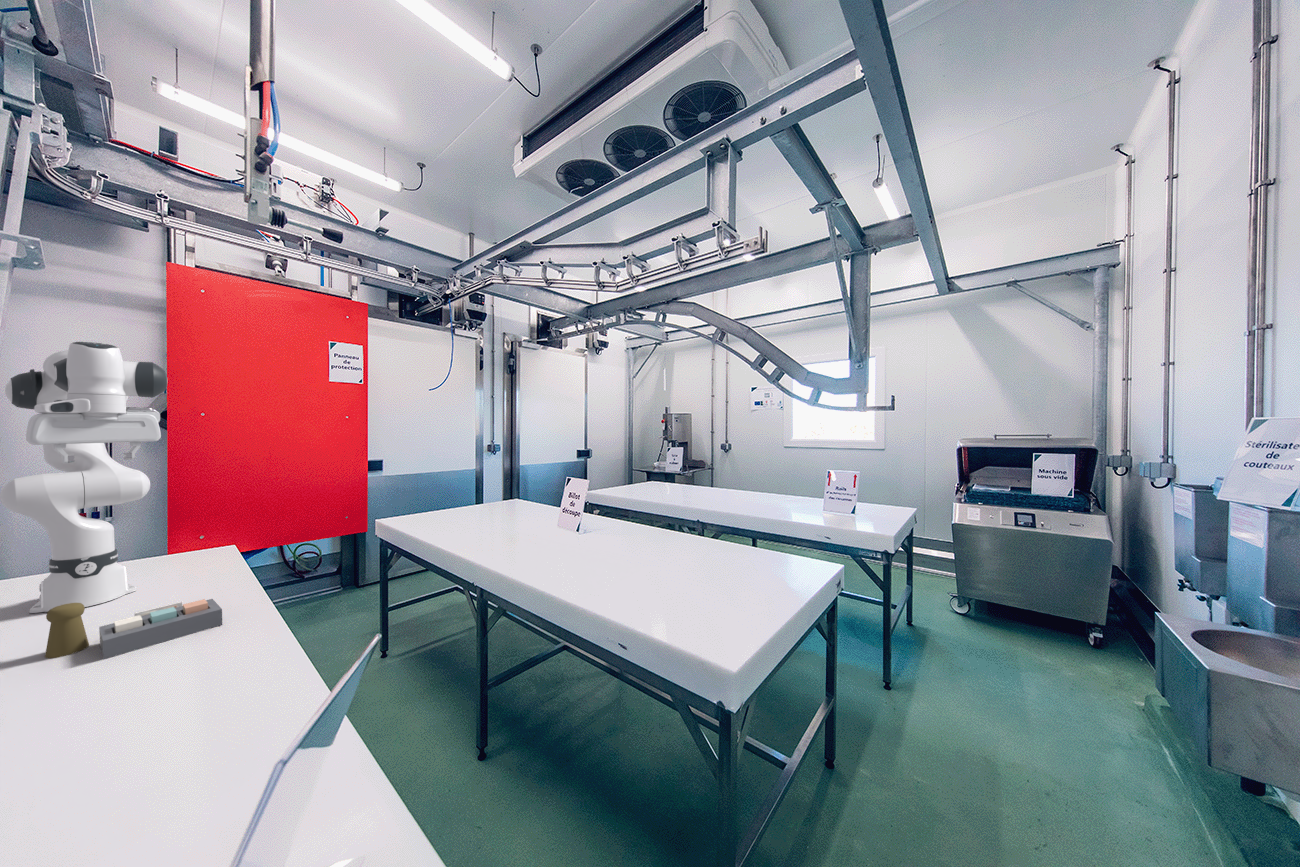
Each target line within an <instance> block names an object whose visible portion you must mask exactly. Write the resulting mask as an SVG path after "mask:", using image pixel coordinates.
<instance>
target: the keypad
mask: <svg viewBox="0 0 1300 867" xmlns="http://www.w3.org/2000/svg"><path fill="white" fill-rule="evenodd" d="M205 600H206V601H207V602H208V609H206V610H202V611H198V612H194V613H191V614H187V615H183V602H182V601H178V602H175V603H174V602H173V603H170V604H167V605H162V606H157V607H154V608H150V609H149V608H148V609H145V610H141V611H137V612H134V616H138V615H141V617H142V620H143V626H141V627H137V628H133V629H129V630H126V631H122V632H118V633H114V622H113V623H109V624H106V625H105V624H104V625H101V626H99V628H98V629H99V630H98V631H99V646H100V650H101V654H102V659H103V660H106V659H109V658H113V657H116V656H120V655H124V654H126V653H130V652H134V651H138V650H140V649H144V648H147V647H151V646H155V645H158V644H162V643H164V642H169V641H172V640H175V639H178V638H182V637H185V636H189V635H193V634H196V633H199V632H202V631H206V630H210V629H214V628H216V627H217V628H218V627H221V626H223V609H222V607H221V606H220V605H219V604H218V603H217V602H216V601H215V599H213V598H209V599H205ZM171 607H174V608H175V609H176V611H177V617H175V618H171V619H168V620H164V621H160V622H156V623H152V624H150V612H154V611H158V610H162V609H167V608H171Z"/></svg>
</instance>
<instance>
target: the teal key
mask: <svg viewBox="0 0 1300 867" xmlns="http://www.w3.org/2000/svg"><path fill="white" fill-rule="evenodd" d="M175 617H177V611H176V609H175V608H174V607H171V608H167V609H162V610H158V611H154V612H150V624H152V623H156V622H160V621H164V620H168V619H171V618H175Z"/></svg>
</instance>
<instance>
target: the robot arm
mask: <svg viewBox="0 0 1300 867" xmlns="http://www.w3.org/2000/svg"><path fill="white" fill-rule="evenodd" d="M42 369H43V371H40V370H38V371H35V369H34V368H32V369H30V370H29V371H28V372H23V373H19V374H16V375H14V376H13V377H11V378H10V380H9V381H7V384H6V385H5V389H4V393H5V396H6V399H8V401H10V402H11V405H13V406H14V407H16V408H21V409H26V410H34V411H35V412H36V413H37V414H34V415H32V416H31V417H30V418H29V420H28V423H27V426H26V434H25V437H26V438H25V440H26V442H27V443H29V444H31V445H34V446H35V445H37V446H38V445H41V446H42V448H43V450H42V451H43V458H44V460H45V462H46V463H47V464H48V465H49V466H50V467H52V468H54V469H56V470H58V471H62V472H52V473H51V472H50V473H49V472H48V473H38V474H33V475H26V476H21V477H16V478H12V479H11V480H10V481H8V482H7V483H5V485H4V486H3V487H2V488H1V490H0V502H1V504H2V505H3V507H5V508H6V509H7V510H8V511H11V512H13V513H15V514H21V515H22V516H25V517H28V518H30V519H32V520H34V521H35V522H37V523H38V524H40V525H41V526H42V528H43V529H44V530H45V531H46V534H47V535H48V539H49V543H50V550H51V559H49V561H48V562H49V563H48V570H49V573H50V574H49V575H48V576H47V577H45V578H44V579H43V580H42V581H41V582H40V584H39V587H38V588H39V589H38V590H39V592H40V595H39V601H38V602H36V603H35V604H34V605H32V607H31V608H29V611H28V613H29V614H39V613H48V611H49V610H50V609H52V608H54V607H56V606H60V605H64V604H68V603H82V604H83V605H84V607H85V608H87V607H92V606H95V605H100V604H102V603H106V602H109V601H114V600H116V599H118V598H120V597H123V596H124V595H128V594H130V593H133V592H137V590H138V588H137V586H135V585H132V584H129V583H128V578H127V577H128V576H127V568H126V566H124V564H120V563H118V560H119V559H118V557H119V553H118V549H116V543H115V542H116V540H115V527H114V525H113V524H112V523H110V522H108V521H106V520H102V519H99V518H92V517H86V516H82V515H80V513H79V510H82V509H88V508H97V507H98V508H99V507H109V506H116V505H121V504H126V503H131V502H134V501H138V500H142V499H143V498H144V497H146V495H148V493H149V491H150V490H151V481H150V478H149V476H148V475H147V474H146V473H145V472H143V471H141V470H140V469H135V468H131V467H127V466H125V465H124V464H121V463H120V462H117V461H116V460H114V459H113V458H112V457H111V455H109V453H108V450H107V447H106V444H111V443H112V444H113V443H129V446H130V447H131V448H130V450H129V451H128V452H123V460H125V461H126V460H130V461H131V460H135V458H136V452H137V451H138V450H140V448H141V447H142V442H144V443H145V442H146V443H147V442H158V441H159V440H160V439H161V437H162V433H161V429H160V425H159V423H160V421H161V413H160V412H159V411H157V410H156V409H154V408H152V407H137V406H136V407H135V406H133V407H132V406H127V402H128V399H129V397H139V398H140V397H141V398H152V399H153V398H155V397H158V396H160V394H162V393H164V392H165V391H166V389H167V386H168V377H167V376H168V375H167V373H166V371H165V370H164V368H162V367H161V366H160V365H158V364H156V363H154V362H153V361H131V360H124V359H123V355H122V352H121V349H120V348H119V347H118V346H115V345H113V344H108V343H102V342H101V343H100V342H93V341H92V342H91V341H74V342H70V344H69V346H68V350H61V351H57V352H54V353H52V354H50V355H49V356H48V357H46V358H45V360H44V361H43V365H42ZM105 443H106V444H105Z"/></svg>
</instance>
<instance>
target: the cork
mask: <svg viewBox="0 0 1300 867" xmlns="http://www.w3.org/2000/svg"><path fill="white" fill-rule="evenodd" d="M85 610H86V607H84V605H83V604H82V603H68V604H64V605H60V606H56V607H54V608H52V609H50V610H49V611H48V612H46V618H45V619H46V621H47V622H49V623H50V627H49V632H48V638H47V642H46V648H45V653H44V654H45V655H44V658H45V659H57V658H61V657H66V656H69V655H72V654H73V655H74V654H77V653H78V652H81V651H84V650H86V649H87V648H88V647H90V642H89V640H88V636H87V632H86V628H85V625H84V621H83V619H82V615H83V614H84V613H85Z"/></svg>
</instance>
